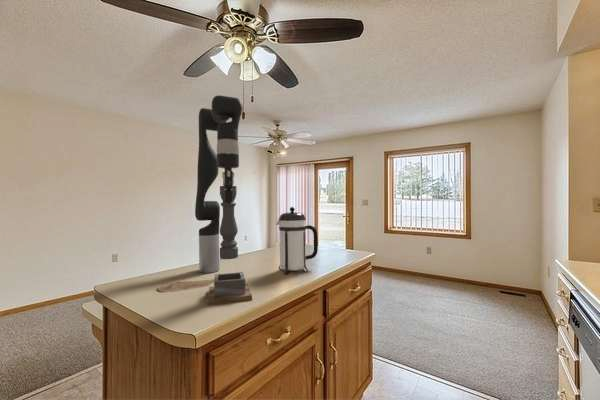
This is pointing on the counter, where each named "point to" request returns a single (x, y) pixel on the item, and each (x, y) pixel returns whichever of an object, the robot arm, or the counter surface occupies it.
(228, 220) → the candle holder
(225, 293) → the collar socket
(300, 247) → the coffee press
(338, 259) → the counter surface
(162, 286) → the fish fossil
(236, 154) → the robot arm
